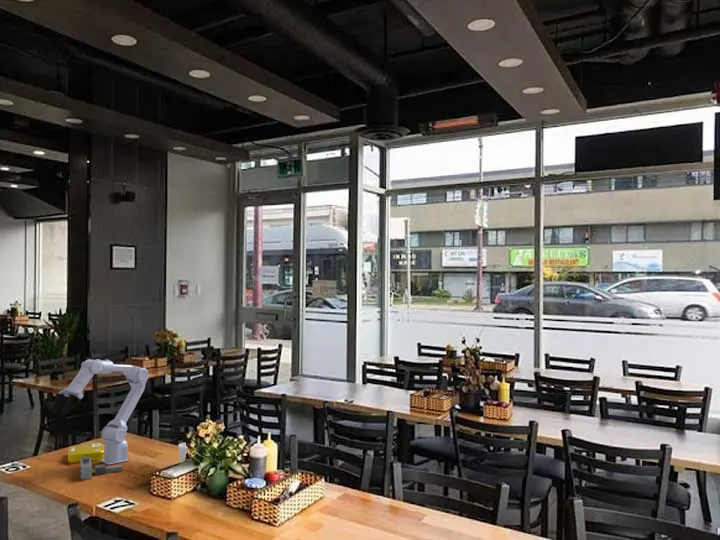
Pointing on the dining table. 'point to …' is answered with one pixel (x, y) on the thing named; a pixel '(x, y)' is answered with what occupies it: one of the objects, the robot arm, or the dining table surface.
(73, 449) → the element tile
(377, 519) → the dining table surface
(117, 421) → the robot arm
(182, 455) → the white cup
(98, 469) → the plug
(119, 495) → the dining table surface
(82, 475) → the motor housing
